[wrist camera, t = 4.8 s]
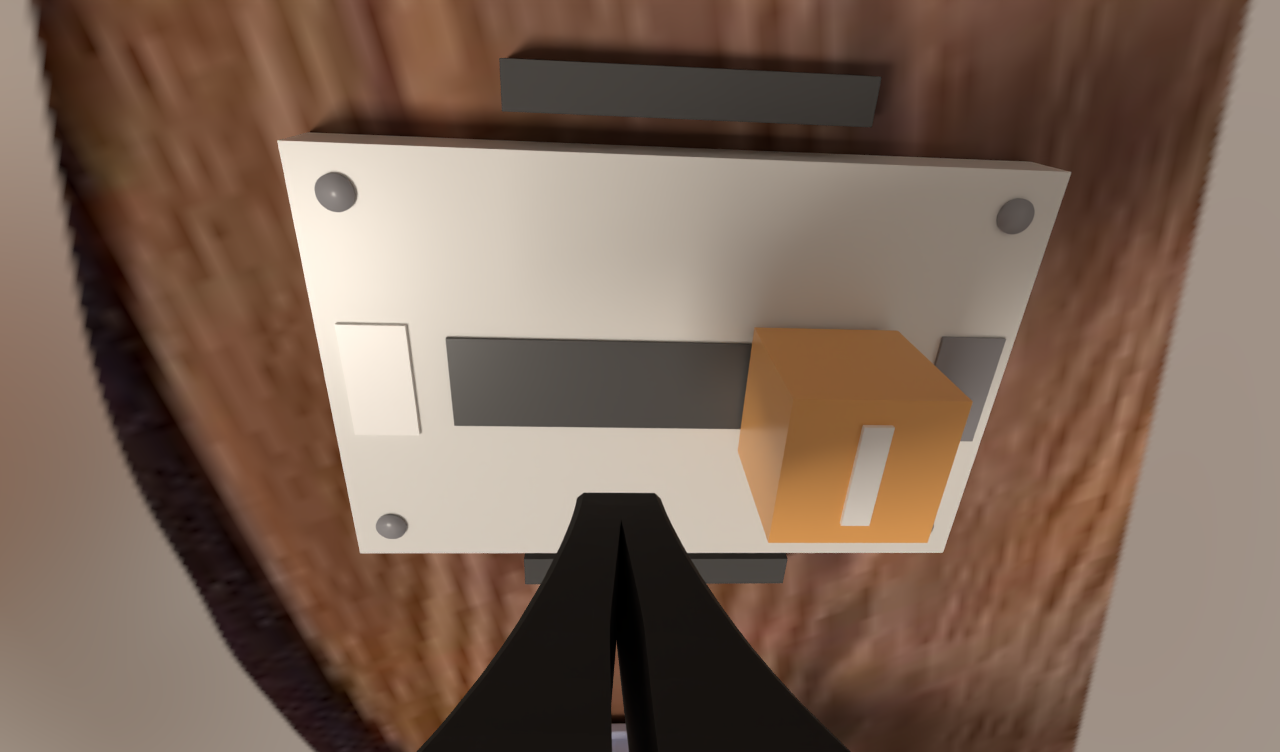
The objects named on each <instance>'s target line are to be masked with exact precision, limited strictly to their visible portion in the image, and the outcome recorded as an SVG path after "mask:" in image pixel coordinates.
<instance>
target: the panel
mask: <svg viewBox="0 0 1280 752" xmlns="http://www.w3.org/2000/svg"><path fill="white" fill-rule="evenodd" d="M277 141H278V146H279V151H280V156H281V161H282V166H283V171H284V176H285V181H286V186H287V191H288V196H289V201H290V206H291V211H292V216H293V221H294V226H295V231H296V236H297V241H298V246H299V251H300V256H301V261H302V266H303V271H304V276H305V281H306V286H307V291H308V296H309V301H310V306H311V311H312V316H313V321H314V326H315V331H316V335H317V340H318V345H319V350H320V355H321V360H322V365H323V370H324V375H325V380H326V385H327V390H328V395H329V400H330V405H331V410H332V415H333V420H334V425H335V430H336V435H337V440H338V445H339V450H340V455H341V460H342V465H343V470H344V475H345V480H346V485H347V490H348V495H349V500H350V505H351V510H352V515H353V520H354V525H355V530H356V535H357V540H358V545H359V550H360V553H557V551H558V549H559V547H560V545H561V543H562V541H563V538H564V536H565V534H566V531H567V529H568V526H569V524H570V521H571V518H572V515H573V512H574V509H575V505H576V500H577V498H578V497H579V496H580V495H581V494H583V493H655V494H656V495H658V496H659V497H660V498H661V501H662V503H663V506H664V508H665V511H666V513H667V515H668V517H669V520H670V522H671V524H672V526H673V528H674V530H675V532H676V533H677V535H678V537H679V539H680V541H681V543H682V545H683V546H684V548H685V550H686V552H687V553H943V551H944V548H945V545H946V542H947V539H948V536H949V533H950V530H951V527H952V524H953V521H954V518H955V515H956V512H957V509H958V506H959V503H960V501H961V498H962V495H963V492H964V489H965V486H966V483H967V480H968V477H969V474H970V471H971V468H972V465H973V462H974V459H975V456H976V453H977V450H978V447H979V444H980V441H981V438H982V435H983V432H984V430H985V427H986V424H987V421H988V418H989V415H990V412H991V409H992V406H993V403H994V400H995V397H996V394H997V391H998V388H999V385H1000V382H1001V379H1002V376H1003V373H1004V370H1005V367H1006V364H1007V361H1008V359H1009V356H1010V353H1011V350H1012V347H1013V344H1014V341H1015V338H1016V335H1017V332H1018V329H1019V326H1020V323H1021V320H1022V317H1023V314H1024V311H1025V308H1026V305H1027V302H1028V299H1029V296H1030V293H1031V291H1032V288H1033V285H1034V282H1035V279H1036V276H1037V273H1038V270H1039V267H1040V264H1041V261H1042V258H1043V255H1044V252H1045V249H1046V246H1047V243H1048V240H1049V237H1050V234H1051V231H1052V228H1053V225H1054V222H1055V220H1056V217H1057V214H1058V211H1059V208H1060V205H1061V202H1062V199H1063V196H1064V193H1065V190H1066V187H1067V184H1068V181H1069V178H1070V175H1071V172H1069V171H1065V170H1062V169H1058V168H1054V167H1050V166H1046V165H1042V164H1038V163H1034V162H1026V161H1001V160H976V159H952V158H927V157H903V156H878V155H853V154H829V153H804V152H779V151H755V150H730V149H706V148H681V147H656V146H632V145H607V144H582V143H558V142H533V141H509V140H484V139H459V138H435V137H410V136H386V135H361V134H336V133H312V132H307V133H304V134H300V135H296V136H292V137H289V138H285V139H281V140H277ZM754 327H760V328H805V329H849V330H894V331H899V332H900V333H901V334H902V335H903V336H904V337H905V338H906V339H907V340H908V341H909V342H910V343H911V344H913V345H914V346H915V347H916V348H917V349H918V350H919V351H920V352H921V353H922V354H923V355H924V356H925V357H926V358H927V359H928V360H929V361H930V362H932V363H933V364H934V365H935V366H936V367H937V368H938V369H939V370H940V371H941V372H942V373H943V374H944V375H945V376H946V377H947V378H948V379H950V380H951V381H952V382H953V383H954V384H955V385H956V386H957V387H958V388H959V389H960V390H961V391H962V392H963V393H964V394H965V395H966V396H967V397H969V398H970V399H971V400H972V401H973V403H972V406H971V409H970V412H969V415H968V418H967V422H966V425H965V428H964V431H963V434H962V437H961V440H960V443H959V446H958V450H957V453H956V456H955V459H954V462H953V465H952V468H951V471H950V474H949V478H948V481H947V484H946V487H945V490H944V493H943V496H942V499H941V503H940V506H939V509H938V512H937V515H936V518H935V521H934V524H933V527H932V531H931V534H930V537H929V540H928V543H768V541H767V538H766V535H765V532H764V529H763V526H762V523H761V520H760V517H759V514H758V511H757V508H756V505H755V502H754V499H753V496H752V493H751V490H750V487H749V484H748V481H747V478H746V475H745V472H744V469H743V466H742V463H741V460H740V457H739V454H738V444H739V437H740V430H741V422H742V415H743V407H744V400H745V393H746V385H747V378H748V370H749V363H750V356H751V348H752V341H753V334H754Z"/></svg>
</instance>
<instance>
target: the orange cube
mask: <svg viewBox="0 0 1280 752" xmlns="http://www.w3.org/2000/svg"><path fill="white" fill-rule="evenodd" d="M972 403H973V401H972V400H971V399H970V398H969V397H967V396H966V395H965V394H964V393H963V392H962V391H961V390H960V389H959V388H958V387H957V386H956V385H955V384H954V383H953V382H952V381H951V380H950V379H948V378H947V377H946V376H945V375H944V374H943V373H942V372H941V371H940V370H939V369H938V368H937V367H936V366H935V365H934V364H933V363H932V362H930V361H929V360H928V359H927V358H926V357H925V356H924V355H923V354H922V353H921V352H920V351H919V350H918V349H917V348H916V347H915V346H914V345H913V344H911V343H910V342H909V341H908V340H907V339H906V338H905V337H904V336H903V335H902V334H901V333H900V332H899V331H894V330H849V329H805V328H760V327H754V334H753V341H752V348H751V356H750V363H749V370H748V378H747V385H746V393H745V400H744V407H743V415H742V422H741V430H740V437H739V444H738V454H739V457H740V460H741V463H742V466H743V469H744V472H745V475H746V478H747V481H748V484H749V487H750V490H751V493H752V496H753V499H754V502H755V505H756V508H757V511H758V514H759V517H760V520H761V523H762V526H763V529H764V532H765V535H766V538H767V541H768V543H928V540H929V537H930V534H931V531H932V527H933V524H934V521H935V518H936V515H937V512H938V509H939V506H940V503H941V499H942V496H943V493H944V490H945V487H946V484H947V481H948V478H949V474H950V471H951V468H952V465H953V462H954V459H955V456H956V453H957V450H958V446H959V443H960V440H961V437H962V434H963V431H964V428H965V425H966V422H967V418H968V415H969V412H970V409H971V406H972Z"/></svg>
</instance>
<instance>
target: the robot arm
mask: <svg viewBox="0 0 1280 752" xmlns="http://www.w3.org/2000/svg"><path fill="white" fill-rule="evenodd" d="M616 640H617V649H618V658H619V667H620V677H621V686H622V695H623V704H624V713H625V722H626V723H618V724H611V700H612V688H613V676H614V664H615V652H616ZM417 752H850V751H849V750H848V749H847V748H846V747H845V746H844V745H843V744H842V743H841V742H840V741H839V740H838V739H837V738H836V737H835V736H834V735H833V734H832V733H831V732H830V731H829V730H828V729H827V728H826V727H825V726H824V725H823V724H822V723H821V722H820V721H819V720H818V719H817V718H816V717H815V716H814V715H813V714H812V713H811V712H810V711H809V710H808V709H807V708H806V707H805V706H803V705H802V704H801V702H800V701H799V700H798V699H797V698H796V697H795V696H794V695H793V694H792V693H791V692H790V690H789V689H788V688H787V687H786V686H785V685H784V684H783V683H782V682H781V681H780V679H779V678H778V677H777V676H776V675H775V674H774V673H773V672H772V670H771V669H770V668H769V667H768V666H767V665H766V663H765V662H764V661H763V660H762V659H761V657H760V656H759V655H758V654H757V653H756V651H755V650H754V649H753V648H752V647H751V645H750V644H749V643H748V641H747V640H746V639H745V638H744V636H743V635H742V634H741V632H740V631H739V630H738V629H737V627H736V626H735V625H734V623H733V622H732V620H731V619H730V618H729V616H728V615H727V613H726V612H725V611H724V609H723V608H722V606H721V605H720V604H719V602H718V601H717V599H716V598H715V596H714V595H713V593H712V592H711V590H710V589H709V587H708V586H707V584H706V583H705V581H704V580H703V578H702V576H701V575H700V573H699V572H698V570H697V568H696V567H695V565H694V563H693V562H692V560H691V559H690V557H689V555H688V553H687V552H686V550H685V548H684V546H683V545H682V543H681V541H680V539H679V537H678V535H677V533H676V532H675V530H674V528H673V526H672V524H671V522H670V520H669V517H668V515H667V513H666V511H665V508H664V506H663V503H662V501H661V498H660V497H659V496H658V495H656V494H655V493H583V494H581V495H580V496H579V497H578V498H577V500H576V505H575V509H574V512H573V515H572V518H571V521H570V524H569V526H568V529H567V531H566V534H565V536H564V538H563V541H562V543H561V545H560V547H559V549H558V551H557V553H556V555H555V557H554V559H553V561H552V563H551V565H550V567H549V569H548V571H547V573H546V575H545V577H544V579H543V581H542V583H541V585H540V586H539V588H538V590H537V591H536V593H535V595H534V596H533V598H532V600H531V601H530V603H529V605H528V606H527V608H526V610H525V612H524V613H523V615H522V617H521V618H520V620H519V621H518V623H517V625H516V626H515V628H514V629H513V631H512V632H511V634H510V635H509V637H508V638H507V640H506V641H505V643H504V644H503V646H502V647H501V648H500V650H499V651H498V653H497V654H496V655H495V657H494V658H493V660H492V661H491V662H490V664H489V665H488V667H487V668H486V669H485V671H484V672H483V673H482V675H481V676H480V677H479V678H478V680H477V681H476V682H475V684H474V685H473V686H472V687H471V689H470V690H469V691H468V692H467V694H466V695H465V696H464V697H463V699H462V700H461V701H460V702H459V704H458V705H457V706H456V708H455V709H454V710H453V711H452V712H451V714H450V715H449V716H448V717H447V718H446V719H445V721H444V722H443V723H442V724H441V725H440V727H439V728H438V729H437V730H436V731H435V732H434V733H433V735H432V736H431V737H430V738H429V739H428V740H427V741H426V742H425V743H424V744H423V745H422V746H421V748H420V749H419V750H418V751H417Z"/></svg>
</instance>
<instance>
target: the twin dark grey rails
mask: <svg viewBox="0 0 1280 752" xmlns="http://www.w3.org/2000/svg"><path fill="white" fill-rule="evenodd" d="M499 60H500V80H501V100H502V111H508V112H531V113H554V114H577V115H600V116H623V117H646V118H669V119H692V120H715V121H738V122H761V123H784V124H807V125H830V126H853V127H872V123H873V118H874V113H875V108H876V103H877V98H878V93H879V88H880V83H881V77H877V76H865V75H845V74H825V73H805V72H784V71H764V70H743V69H723V68H702V67H682V66H661V65H641V64H621V63H600V62H580V61H559V60H539V59H518V58H499ZM555 555H556V553H525V557H524V566H525V584H541V583H542V581H543V579H544V577H545V575H546V573H547V571H548V569H549V567H550V565H551V563H552V561H553V559H554V557H555ZM688 555H689V557H690V559H691V560H692V562H693V563H694V565H695V567H696V568H697V570H698V572H699V573H700V575H701V576H702V578H703V580H704V581H705V583H783V579H784V574H785V569H786V563H787V556H786V554H785V553H688Z"/></svg>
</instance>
